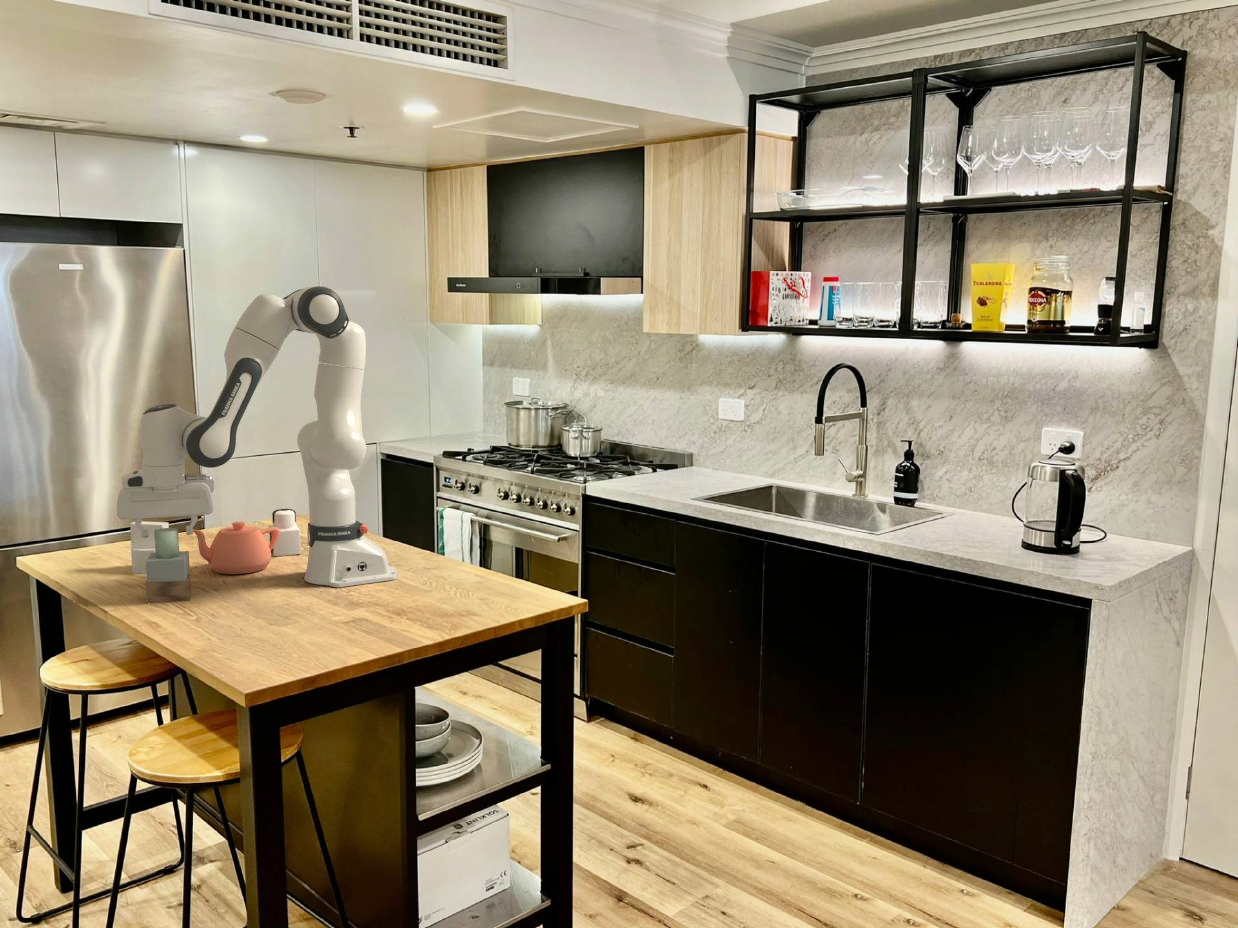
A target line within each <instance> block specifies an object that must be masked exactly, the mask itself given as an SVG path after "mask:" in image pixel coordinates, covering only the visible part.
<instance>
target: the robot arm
mask: <svg viewBox="0 0 1238 928" xmlns="http://www.w3.org/2000/svg"><path fill="white" fill-rule="evenodd" d="M294 331H297V332H302V333H308V334H313V335H314V334H315V336H316V337H317V339H318V342H319V350H320V351H319V355H318V362H317V368H316V377H315V385H314V393H313V394H314V396H313V397H314V399H315V400H314V401H315V404H316V410H317V411H316V412H317V420H313V421H311V422H310V421H309V422H308V423H306V424H304V425H303V426H302V427H301V429H299V432H298V434H297V439H296V443H297V446H298V449H299V452H300V454H301V460H302V466H303V471H304V476H305V480H306V485H307V492H308V511H309V512H308V514H309V515H308V517H309V522H308V523H307V529H306V530H307V544H308V546H309V548H308V551H309V552H308V559H307V566H306V570H305V575H304V577H303V579H304V581H306V582H307V583H309V584H313V585H320V586H328V587H332V588H343V587H350V586H357V585H365V584H372V583H379V582H385V581H394V580H396V579H397V578H398V570H397V568H395V566H393V565H391V564H389V560H388V557H387V553H386V552H385V550H384V548H383V547H381V545H379V544H377V543H375V542H374V541H373V540H371V539H370V538H368V537H367V536H366V534H367V533H368V532H369V527H368V526H367V525H366V524H364V523H362V522H361V521H358V520H357V517H356V515H357V513H356V510H357V509H356V489H355V486H354V484H353V483H352V479H351V476H350V470H353V469H355V468H357V467H358V466H360V465H361V464H362V463H363V462H364V459H365V458H366V455H367V444H366V441H365V437H364V434H363V422H362V420H363V419H362V392H363V385H364V378H365V377H364V376H365V369H366V360H367V340H366V339H367V338H366V332H365V330H364V328H363V327H361V325H359V324H358V323H356V322H354V321H350V318H349V315H348V313H347V312H346V308H345V305H344V303H343V300H342V299H341V297H340V296H339V294H337V293H336V291H334V290H332V289H331V288H329V287H326V286H321V285H320V286H318V285H311V286H310V285H309V286H306V287H302V288H299V289H297V290H295V291H293V292H291V293H290V294H288V295H287V296H285V297H283V298H282V297H280V296H278V295H276V294H271V293H262V294H260V295H257V296H256V297H255V298H254V299H253V300H252V301H251V303H250V304H249V305H248V306H247V308H246V309H245V311H244V312H243V313H242V315H241V316H240V318H239V319H238V320H237V323H236V325H235V326H234V327H233V330H232V332H231V334H230V335H229V338H228V340H227V343H226V347H225V350H224V354H223V355H224V356H223V357H224V361H225V367H226V369H225V370H226V377H225V378H226V379H225V382H224V384H223V387H222V390H221V391H220V393H219V395H218V397H217V400H216V401H215V403H214V406H213V407H212V410H211V412H210V414H208V416H201V415H197V414H195V413H193V412H190V411H187V410H186V409H184V408H182V407H181V406H179V405H178V404H173V403H167V404H166V403H165V404H160V405H155V406H152V407H149V408H147V409H146V410H145V411H144V412H143V413H142V416H141V420H140V446H141V449H142V454H143V456H142V461H141V462H142V463H141V464H142V465H141V467H142V468H141V469H137V470H135V471H132V472H129V473H126V474H124V475H123V476H122V477H121V480H120V481H121V486H122V487H120V490H119V492H118V497H117V503H116V517H118V519H119V520H122V521H123V520H134V522H135V524H136V526H137V527H138V528H139V530H140V531H141V538H146V537H148V529H144V528H143V526H142V525H141V523H142V521H143V519H152V518H153V519H155V518H169V517H171V518H172V517H189V516H190V519H191V522H190V525H186V526H185V531H186V532H185V533H186V535H188V536H189V535H194V532H193V529H194V527H195V525H196V523H197V522H198V520H199V519H198V516H203V515H205V516H206V515H211V514H212V513H213V511H214V509H215V508H214V501H213V495H212V493H213V492H214V490H215V482H214V479H213V478H212V477H211V476H209V475H207V474H201V473H200V474H186V462H185V459H188V458H190V459H191V461H192V462H194V463H195V464H197V465H198V466H200V467H203V468H207V469H210V468H211V469H213V468H219V467H221V466H223V465H225V464H226V463H227V462H229V461H230V460H231V458H232V457H233V456H234V454H235V450H236V445H237V442H236V441H237V433H238V427H239V424H240V423H241V420H242V419H243V416H244V414H245V412H246V410H247V407H248V405H249V404H250V401H251V399H252V398H253V394H254V393H255V391H256V388H258V386H259V384H260V382H261V381H262V380H263V377H265V374H266V373H267V372H268V370H269V369H270V367H271V366H272V365H273V362H274V361H275V360H276V357H277V356H278V354H279V351H280V350H281V348H282V346H283V344H284V342H285V340H286V339H287V337H288V336H290V334H291V333H292V332H294Z"/></svg>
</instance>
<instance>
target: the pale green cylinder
mask: <svg viewBox="0 0 1238 928" xmlns="http://www.w3.org/2000/svg"><path fill="white" fill-rule="evenodd" d="M154 536H155V552H156V557H157V558H173V557H177V556H179V551H180V542H179V541H180V539H179V528H175V527H169V528H162V529H157V530H155V531H154Z"/></svg>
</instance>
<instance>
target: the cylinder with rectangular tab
mask: <svg viewBox="0 0 1238 928" xmlns="http://www.w3.org/2000/svg"><path fill="white" fill-rule="evenodd" d="M169 524H170V523H169V522H164V521H163V522H162V521H160V522H159V521H143V520H142V523H141V525H142V526H143V528H144V529H148V537H146V538H141V531H140V530H139V528H138V527H137V526H136V524H135V521H133V522H130V523H129V527H130V528H129V529H130V544H131V545H130V546H131V547H130V556H131V571H132V573H133V574H138V575H147V572H146V560H147V559H148V557H149V556H150V554H151V553H156V552H155V536H154V531H155V530H157V529H162V528H170V527H169V526H170V525H169Z"/></svg>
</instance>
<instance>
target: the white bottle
mask: <svg viewBox="0 0 1238 928" xmlns="http://www.w3.org/2000/svg"><path fill="white" fill-rule="evenodd" d="M271 515H272V525H270V526H269V527H268V528H271V527H277V528H279V530H280V535H279V538H278V540H277V542H276V544H275V545H274V547H273V549H272V550H271V556H272V557H273V556H278V557H288V556H287V555H290V556H297V555H296V554H300V555H301V554H302V553H301V529H300V528H299V527H298V525H297V517H296V516H297V513H296V511H295V510H294V509H291V508H280V509H275V510H274V511H273V512H272V513H271ZM271 539H272V533H271V532H269V543H270V542H271Z"/></svg>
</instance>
